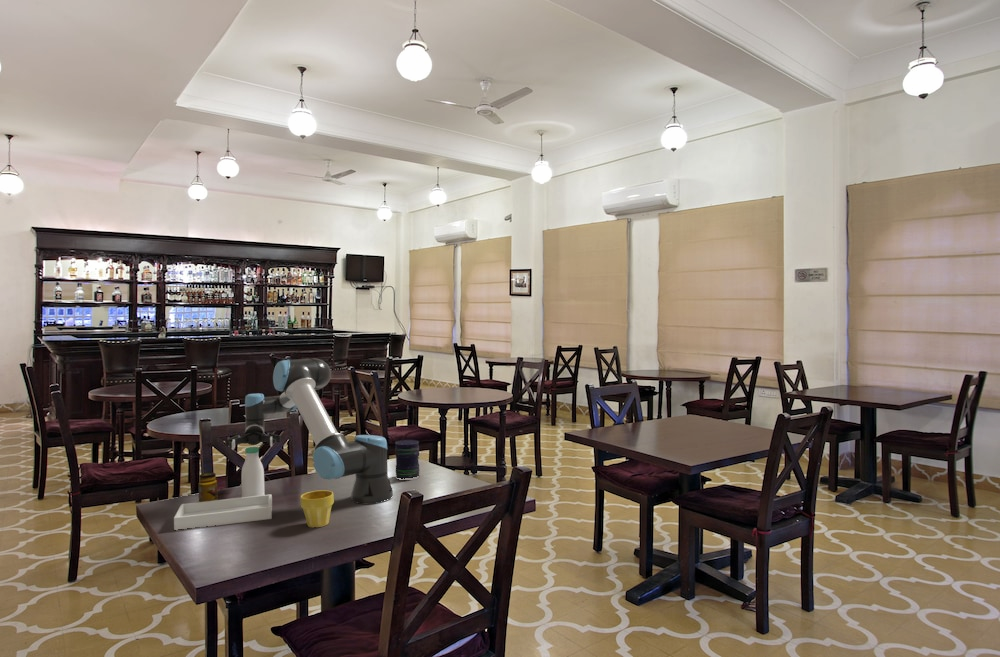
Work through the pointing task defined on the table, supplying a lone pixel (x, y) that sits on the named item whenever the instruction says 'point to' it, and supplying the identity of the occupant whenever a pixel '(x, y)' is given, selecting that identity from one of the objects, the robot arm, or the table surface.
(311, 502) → the plant pot
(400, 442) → the storage jar
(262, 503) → the tray
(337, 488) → the table surface
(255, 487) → the milk bottle
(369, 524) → the table surface
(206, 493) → the condiment
